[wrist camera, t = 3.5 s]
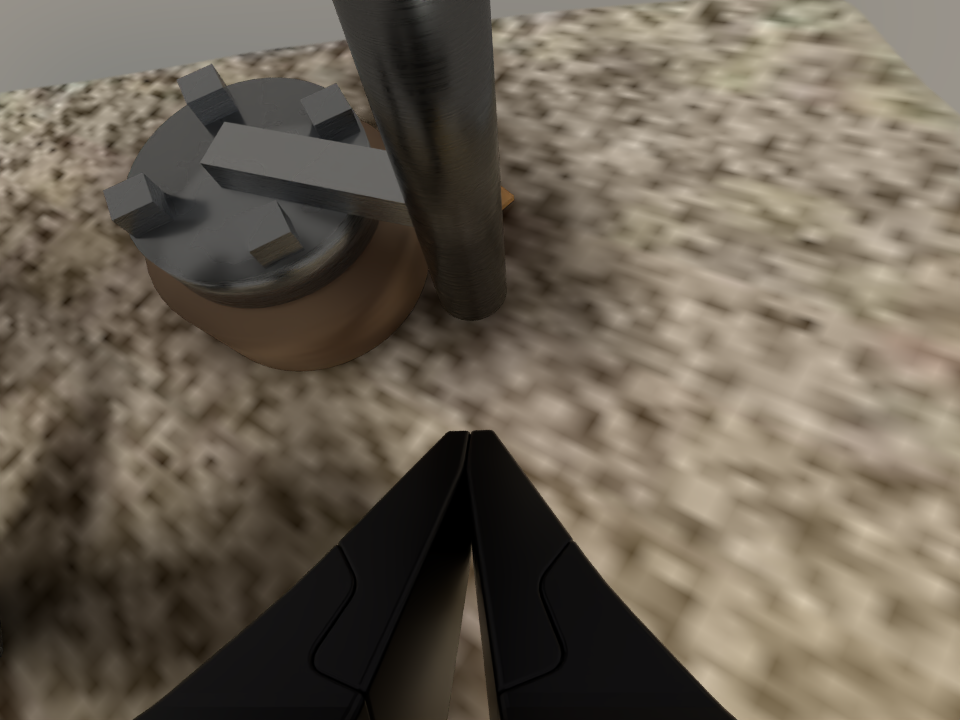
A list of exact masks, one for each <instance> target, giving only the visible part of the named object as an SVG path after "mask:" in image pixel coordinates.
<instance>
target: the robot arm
mask: <svg viewBox="0 0 960 720" xmlns="http://www.w3.org/2000/svg"><path fill="white" fill-rule="evenodd" d="M338 545H339V546H338ZM338 545H335V546H334V547H333V548H332V549H331V550H330V551H329V552H328V553H327V554H326V555H325V556H324V557H323V558H322V559H321V560H320V561H319V562H318V563H317V564H316V565H315V566H314V567H313V568H312V569H311V570H310V571H309V572H308V573H307V574H306V575H305V576H304V577H303V578H302V579H300V580H299V581H298V582H297V583H296V584H295V585H294V586H293V587H292V588H291V589H290V590H289V591H288V592H286V593H285V594H284V595H283V596H282V597H281V598H280V599H279V600H277V601H276V602H275V603H274V604H273V605H272V606H271V607H269V608H268V609H267V610H266V611H265V612H264V613H263V614H261V615H260V616H259V617H258V618H257V619H256V620H254V621H253V622H252V623H251V624H250V625H249V626H247V627H246V628H245V629H244V630H243V631H241V632H240V633H239V634H238V635H237V636H236V637H234V638H233V639H232V640H231V641H230V642H228V643H227V644H226V645H225V646H224V647H222V648H221V649H220V650H219V651H218V652H217V653H215V654H214V655H213V656H212V657H211V658H209V659H208V660H207V661H206V662H205V663H204V664H202V665H201V666H200V667H199V668H198V669H196V670H195V671H194V672H193V673H192V674H191V675H189V676H188V677H187V678H186V679H185V680H183V681H182V682H181V683H180V684H179V685H178V686H176V687H175V688H174V689H173V690H172V691H170V692H169V693H168V694H167V695H165V696H164V697H163V698H162V699H160V700H159V701H158V702H157V703H155V704H154V705H153V706H152V707H150V708H149V709H147V710H146V711H144V712H143V713H142V714H140V715H139V716H137V717H136V718H134V719H133V720H447V716H448V709H449V703H450V696H451V689H452V683H453V676H454V669H455V663H456V656H457V649H458V643H459V636H460V629H461V623H462V616H463V609H464V603H465V596H466V590H467V583H468V576H469V570H470V562H471V553H472V554H473V566H474V575H475V585H476V594H477V604H478V613H479V622H480V632H481V641H482V650H483V660H484V669H485V678H486V688H487V697H488V706H489V716H490V720H737V719H736V718H735V717H734V716H733V715H731V714H730V713H729V712H728V711H727V710H726V709H725V708H724V707H723V706H722V705H721V704H720V703H719V702H718V701H717V700H716V699H715V698H714V697H713V696H712V695H711V694H710V693H709V692H708V691H707V690H706V689H705V688H704V687H703V686H702V685H701V684H700V683H699V682H698V681H697V680H696V679H695V678H694V676H693V675H692V674H691V673H690V672H689V671H688V670H687V669H686V668H685V667H684V666H683V665H682V664H681V663H680V662H679V661H678V660H677V658H676V657H675V656H674V655H673V654H672V653H671V652H670V651H669V650H668V649H667V648H666V647H665V646H664V645H663V644H662V643H661V642H660V641H659V639H658V638H657V637H656V636H655V635H654V634H653V633H652V632H651V631H650V630H649V629H648V628H647V627H646V626H645V625H644V624H643V623H642V621H641V620H640V619H639V618H638V617H637V616H636V615H635V614H634V613H633V612H632V611H631V610H630V609H629V607H628V606H627V605H626V604H625V603H624V602H623V601H622V600H621V599H620V597H619V596H618V595H617V594H616V593H615V592H614V591H613V590H612V589H611V587H610V586H609V585H608V584H607V583H606V581H605V580H604V579H603V578H602V576H601V575H600V574H599V573H598V571H597V570H596V569H595V568H594V566H593V565H592V564H591V563H590V561H589V560H588V559H587V557H586V556H585V555H584V553H583V552H582V550H581V549H580V548H579V546H578V545H577V544H576V542H574V541H573V539H572V537H571V536H570V534H569V533H568V532H567V530H566V529H565V528H564V526H563V525H562V524H561V522H560V521H559V519H558V518H557V517H556V515H555V514H554V513H553V511H552V510H551V509H550V507H549V506H548V504H547V503H546V502H545V500H544V499H543V498H542V496H541V495H540V494H539V492H538V491H537V489H536V488H535V487H534V485H533V484H532V483H531V481H530V480H529V479H528V477H527V476H526V474H525V473H524V472H523V470H522V469H521V468H520V466H519V465H518V464H517V462H516V461H515V460H514V458H513V457H512V455H511V454H510V453H509V451H508V450H507V449H506V447H505V446H504V445H503V443H502V442H501V440H500V439H499V438H498V436H497V435H496V434H495V432H494V431H492V430H475V431H472V432H471V434H470V432H468V431H449V432H447V433H446V434H445V435H444V436H443V437H442V438H441V439H440V440H439V441H438V442H437V443H436V444H435V445H434V446H433V447H432V448H431V449H430V450H429V451H428V452H427V453H426V454H425V455H424V456H423V457H422V458H421V459H420V460H419V461H418V462H417V463H416V464H415V465H414V466H413V467H412V468H411V469H410V470H409V471H408V472H407V473H406V474H405V475H404V476H403V477H402V478H401V479H400V480H399V481H398V482H397V483H396V485H395V486H394V487H393V488H392V489H391V490H390V491H389V492H388V493H387V494H386V495H385V496H384V497H383V498H382V499H381V500H380V501H379V502H378V503H377V504H376V505H375V506H374V507H373V508H372V509H371V510H370V511H369V512H368V513H367V514H366V515H365V516H364V517H363V518H362V519H361V520H360V521H359V522H358V523H357V524H356V525H355V526H354V527H353V528H352V529H351V530H350V531H349V532H348V533H347V534H346V535H345V536H344V537H343V538H342V539H341V540H340V541H339V543H338Z"/></svg>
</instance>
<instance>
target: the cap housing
mask: <svg viewBox="0 0 960 720" xmlns="http://www.w3.org/2000/svg"><path fill="white" fill-rule="evenodd" d="M359 120H360V119H359ZM360 122H361V124H362V126H363V128H364V130H365V133H366V135H367V138H368V140H369V143H370V145H371V148H375V149H381V150H386V149H385V146H384V143H383V140H382V137H381V135H380V132H379V131H378V130H376V129H375V128H373V127H372V126H371V125H369V124H367V123H365V122H364V121H362V120H360ZM501 198H502V210H503V209H504V208H505V207H506V206H508V205H509V204H510V203H511V202H512V201H513V200H514V196H513V195H512V194H511V193H510V192H508V191H507V190H506V189H505V188H503V187H502V186H501ZM146 263H147V267H148V272H149V275H150V277H151V280H152V282H153V284H154V287H155V288H156V290H157V291H158V293H159V295H160V296H161V298H162V299H163V300H164V301H165V302H166V303H167V305H168V306H169V307H170V308H171V309H172V310H173V311H175V312H176V313H177V314H178V315H180V316H181V317H182V318H184V319H185V320H187V321H188V322H190V323H191V324H193V325H195V326H196V327H198V328H200V329H201V330H203V331H204V332H206V333H208V334H209V335H211V336H213V337H214V338H216V339H217V340H219V341H221V342H222V343H224V344H226V345H227V346H229V347H230V348H232V349H234V350H235V351H237V352H239V353H240V354H242V355H243V356H245V357H247V358H249V359H251V360H253V361H254V362H256V363H259V364H262V365H265V366H267V367H271V368H275V369H280V370H287V371H312V370H320V369H325V368H330V367H334V366H337V365H340V364H343V363H346V362H349V361H351V360H353V359H355V358H357V357H360V356H362V355H363V354H365V353H367V352H368V351H370V350H372V349H373V348H375V347H377V346H378V345H379V344H380V343H382V342H383V341H384V340H386V339H387V338H388V337H389V336H390V335H391V334H392V333H393V332H394V331H395V330H396V329H397V328H398V327H399V326H400V325H401V324H402V323H403V322H404V320H405V319H406V318H407V317H408V315H409V314H410V312H411V311H412V309H413V308H414V306H415V304H416V303H417V301H418V299H419V297H420V294H421V292H422V290H423V288H424V284H425V281H426V277H427V273H428V266H427V263H426V260H425V258H424V255H423V252H422V249H421V246H420V244H419V241H418V238H417V235H416V232H415V230H414V227H409V226H405V225H400V224H395V223H390V222H385V221H380V220H379V223H378V226H377V229H376V230H375V232H374V234H373V236H372V238H371V240H370V242H369V243H368V245H367V246H366V248H365V249H364V251H363V252H362V254H361V255H360V256H359V257H358V258H357V259H356V260H355V262H354V263H353V264H352V265H351V266H350V267H349V268H348V269H347V270H345V271H344V272H343V273H342V274H341V275H340V276H339V277H337V278H336V279H334V280H333V281H332V282H330V283H329V284H328V285H326V286H324V287H322V288H321V289H319V290H317V291H316V292H314V293H312V294H309V295H307V296H305V297H303V298H300V299H298V300H295V301H292V302H288V303H285V304H282V305H276V306H271V307H265V308H235V307H230V306H224V305H220V304H217V303H214V302H211V301H209V300H207V299H205V298H203V297H201V296H199V295H197V294H196V293H194V292H193V291H191V290H190V289H189V288H187V287H186V286H184V285H183V284H182V283H180V282H179V281H177V280H176V279H175V278H173V277H172V276H171V275H169V274H168V273H166V272H165V271H164V270H162V269H161V268H159V267H158V266H157V265H155V264H154V263H153V262H151V261H150V260H148V259H147V258H146Z"/></svg>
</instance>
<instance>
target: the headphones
mask: <svg viewBox="0 0 960 720" xmlns="http://www.w3.org/2000/svg"><path fill="white" fill-rule="evenodd" d="M2 654H3V642H2V632H1V622H0V658H1V656H2Z"/></svg>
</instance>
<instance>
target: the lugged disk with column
mask: <svg viewBox="0 0 960 720" xmlns="http://www.w3.org/2000/svg"><path fill="white" fill-rule="evenodd" d="M332 1H333V3H334V6H335V9H336V12H337V15H338V17H339V20H340V23H341V25H342V29H343V31H344V34H345V37H346V40H347V43H348V45H349V48H350V51H351V54H352V56H353V59H354V62H355V65H356V68H357V70H358V73H359V76H360V79H361V82H362V84H363V87H364V90H365V93H366V96H367V98H368V101H369V104H370V107H371V110H372V112H373V115H374V118H375V121H376V124H377V126H378V129H379V132H380V135H381V137H382V140H383V143H384V146H385V149H386V150H381V149H375V148H371V145H370V143H369V140H368V138H367V135H366V133H365V130H364V128H363V126H362V124H361V122H360V120H359V117H358V116H357V115H356V113H355V112H354V110H353V109H352V108H351V107H350V105H349V103H348V102H347V100H346V98H345V97H344V95H343V93H342V92H341V90H340V88H339V87H338V85H337V83H335V84H333V85H331V86H329V87H327V88H324V87H322V86H320V85H317V84H314V83H311V82H307V81H303V80H298V79H291V78H261V79H252V80H248V81H243V82H238V83H235V84H231V85H228V86H226V84H225V83H224V81H223V80H222V78H221V77H220V75H219V74H218V72H217V71H216V69H215V68H214V66H213V65H212V64H211V65H208V66H206V67H204V68H202V69H200V70H197V71H195V72H193V73H191V74H188V75H186V76H184V77H182V78H179V79H177V82H178V84H179V87H180V89H181V91H182V94H183V96H184V99H185V101H186V103H187V105H186V106H185V107H183V108H182V109H180V110H179V111H178V112H176V113H175V114H174V115H172V116H171V117H170V118H169V119H168V120H167V121H165V122H164V123H163V124H162V125H161V126H160V127H159V128H158V129H157V130H156V131H155V132H154V134H153V135H152V136H151V137H150V138H149V139H148V141H147V142H146V143H145V145H144V146H143V148H142V149H141V150H140V152H139V154H138V156H137V157H136V159H135V161H134V163H133V165H132V167H131V170H130V172H129V175H128V178H127V180H125V181H123V182H121V183H119V184H116V185H114V186H112V187H110V188H108V189H106V190H103V192H104V195H105V198H106V202H107V205H108V209H109V212H110V215H111V219H112V221H113V222H115V223H116V224H117V225H119V226H120V227H121V228H123V229H124V230H125V231H127V232H128V233H129V234H130V237H131V239H132V240H133V242H134V243H135V245H136V247H137V248H138V249H139V250H140V252H141V253H142V254H143V255H144V256H145V257H146V258H147V259H148V260H150V261H151V262H153V263H154V264H155V265H157V266H158V267H159V268H161V269H162V270H164V271H165V272H166V273H168V274H169V275H171V276H172V277H173V278H175V279H176V280H177V281H179V282H180V283H182V284H183V285H184V286H186V287H187V288H189V289H190V290H191V291H193V292H194V293H196V294H197V295H199V296H201V297H203V298H205V299H207V300H209V301H211V302H214V303H217V304H220V305H224V306H230V307H235V308H265V307H271V306H276V305H282V304H285V303H288V302H292V301H295V300H298V299H300V298H303V297H305V296H307V295H309V294H312V293H314V292H316V291H317V290H319V289H321V288H322V287H324V286H326V285H328V284H329V283H330V282H332V281H333V280H334V279H336V278H337V277H339V276H340V275H341V274H342V273H343V272H344V271H345V270H347V269H348V268H349V267H350V266H351V265H352V264H353V263H354V262H355V260H356V259H357V258H358V257H359V256H360V255H361V254H362V252H363V251H364V249H365V248H366V246H367V245H368V243H369V242H370V240H371V238H372V236H373V234H374V232H375V230H376V229H377V226H378V223H379V220H380V221H385V222H390V223H395V224H400V225H405V226H409V227H414V230H415V232H416V235H417V238H418V241H419V244H420V246H421V249H422V252H423V255H424V258H425V260H426V263H427V266H428V269H429V272H430V274H431V277H432V280H433V283H434V286H435V288H436V291H437V294H438V297H439V299H440V302H441V304H442V306H443V307H444V309H445V310H446V311H447V312H448V313H449V314H451V315H452V316H454V317H456V318H458V319H462V320H468V321H474V320H480V319H483V318H486V317H488V316H490V315H492V314H493V313H494V312H496V311H497V310H498V309H499V308H500V306H501V305H502V303H503V302H504V299H505V297H506V293H507V283H506V266H505V249H504V232H503V215H502V198H501V181H500V164H499V147H498V130H497V113H496V95H495V78H494V61H493V44H492V27H491V11H490V0H332Z"/></svg>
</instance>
